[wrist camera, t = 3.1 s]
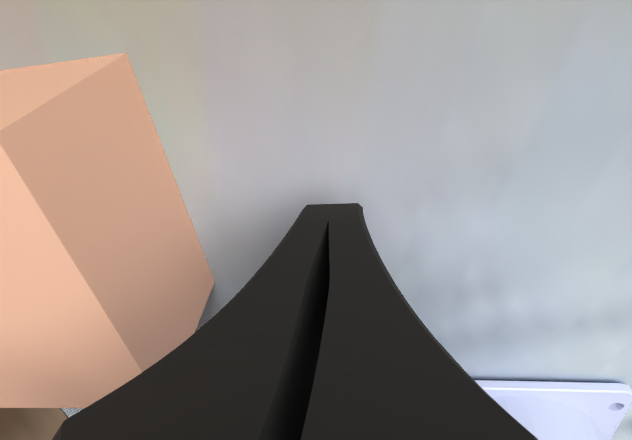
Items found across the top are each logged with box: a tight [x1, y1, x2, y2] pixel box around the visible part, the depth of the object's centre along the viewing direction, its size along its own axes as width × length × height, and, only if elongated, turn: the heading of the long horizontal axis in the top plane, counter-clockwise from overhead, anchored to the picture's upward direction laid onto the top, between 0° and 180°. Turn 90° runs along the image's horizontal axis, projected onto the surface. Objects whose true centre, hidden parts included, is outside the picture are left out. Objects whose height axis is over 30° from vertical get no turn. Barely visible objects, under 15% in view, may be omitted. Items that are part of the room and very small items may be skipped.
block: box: [0, 53, 215, 408], centre depth 12 cm, size 8×6×5 cm
